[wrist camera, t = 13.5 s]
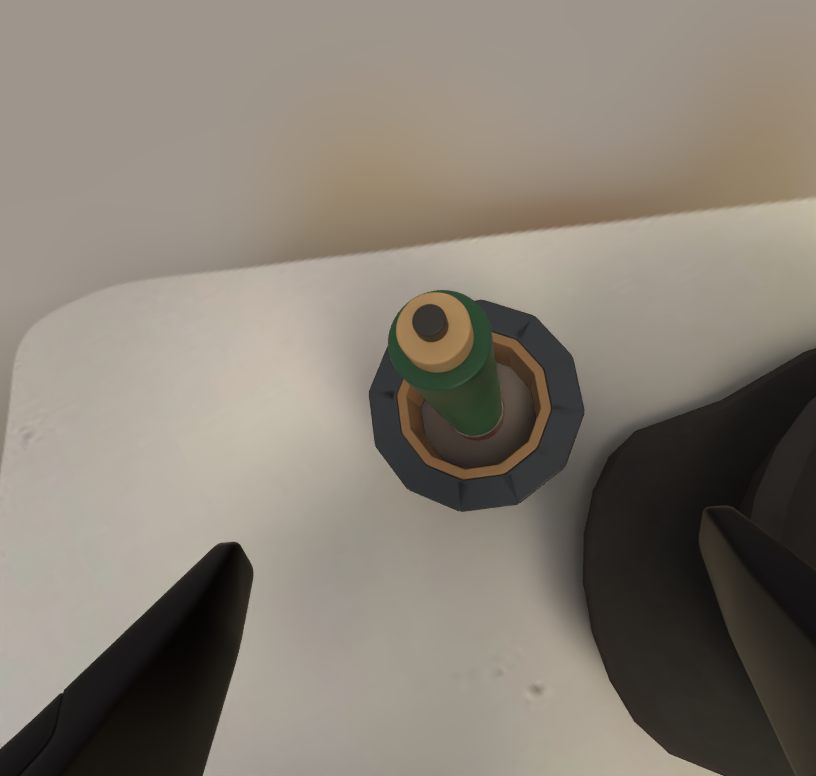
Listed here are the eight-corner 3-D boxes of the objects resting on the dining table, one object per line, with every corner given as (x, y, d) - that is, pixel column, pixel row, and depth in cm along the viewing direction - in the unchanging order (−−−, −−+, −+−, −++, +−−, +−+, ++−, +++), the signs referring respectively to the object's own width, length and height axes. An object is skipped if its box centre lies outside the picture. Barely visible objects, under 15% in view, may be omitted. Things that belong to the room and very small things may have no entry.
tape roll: (612, 426, 22) (629, 415, 19) (464, 544, 23) (455, 554, 19) (489, 293, 25) (485, 263, 21) (357, 402, 25) (332, 389, 21)
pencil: (511, 432, 23) (509, 356, 10) (459, 448, 23) (386, 397, 10) (494, 381, 24) (469, 243, 10) (444, 398, 24) (355, 285, 11)
